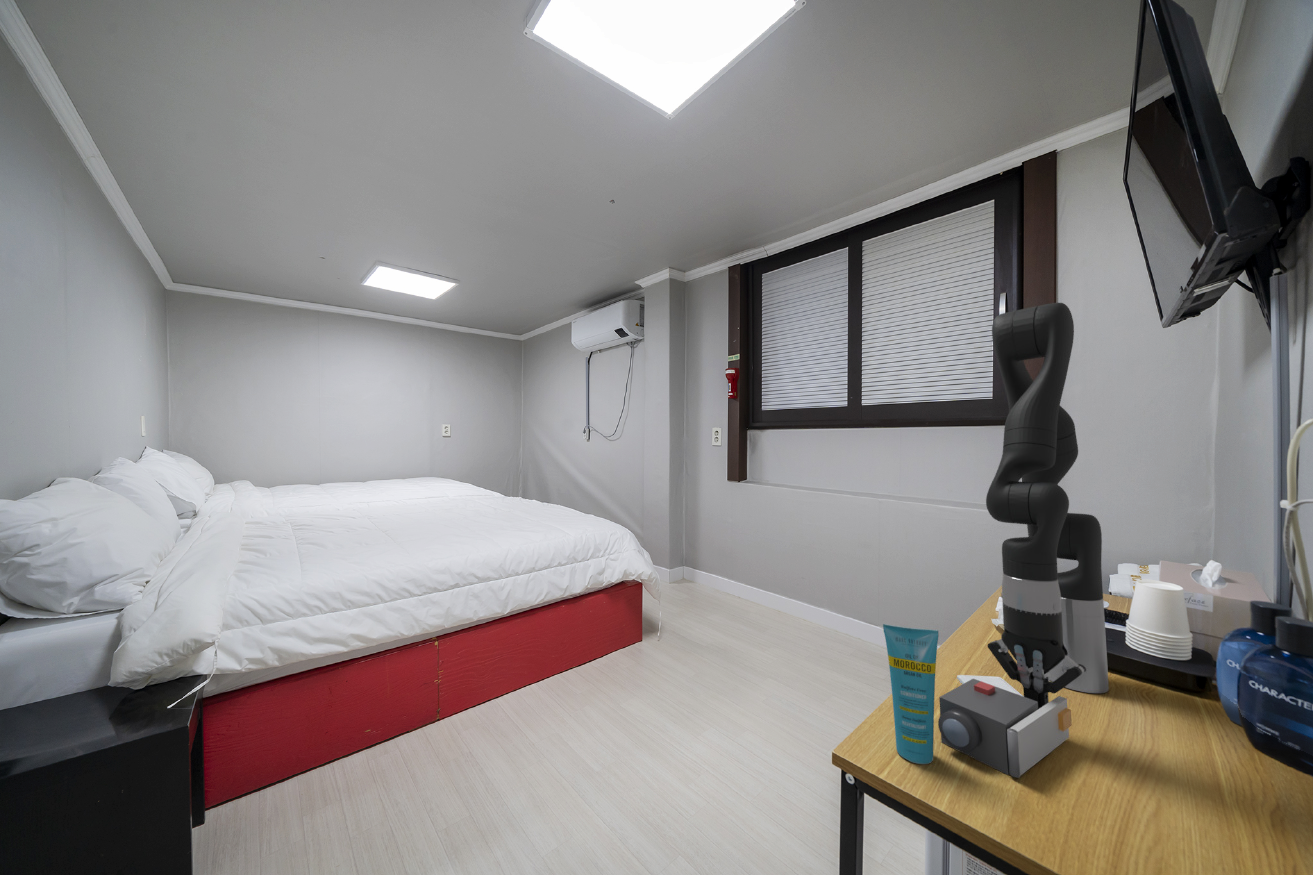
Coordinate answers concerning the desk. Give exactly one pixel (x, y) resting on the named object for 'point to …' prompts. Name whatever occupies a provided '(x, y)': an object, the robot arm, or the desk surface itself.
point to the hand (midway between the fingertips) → (1036, 711)
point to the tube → (913, 689)
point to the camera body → (982, 721)
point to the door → (1038, 735)
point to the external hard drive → (989, 682)
